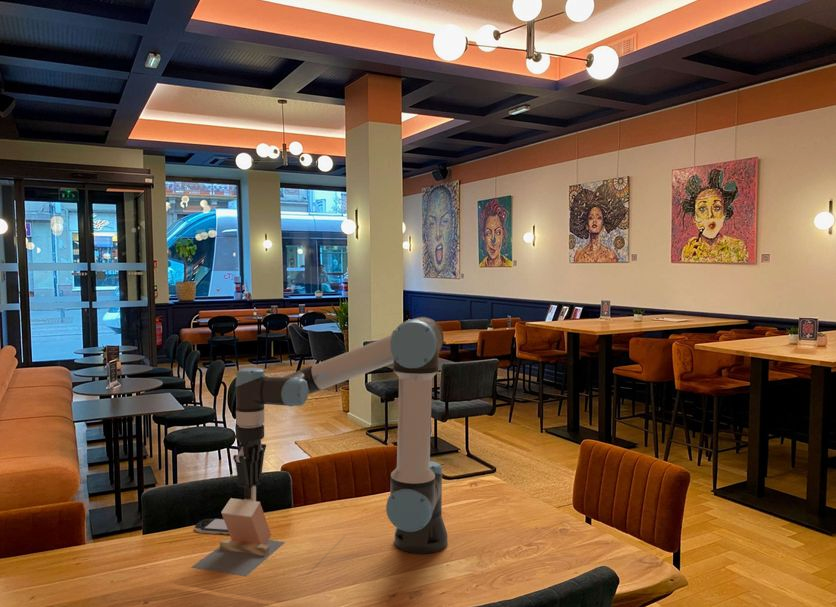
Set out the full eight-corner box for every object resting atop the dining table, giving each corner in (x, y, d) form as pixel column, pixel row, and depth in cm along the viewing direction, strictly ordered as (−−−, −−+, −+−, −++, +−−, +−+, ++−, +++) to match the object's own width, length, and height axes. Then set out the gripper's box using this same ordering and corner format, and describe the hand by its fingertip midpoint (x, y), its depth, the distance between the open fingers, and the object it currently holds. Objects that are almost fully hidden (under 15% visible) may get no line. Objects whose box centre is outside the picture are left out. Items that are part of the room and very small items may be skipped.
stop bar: (269, 552, 162) (269, 545, 162) (265, 555, 160) (265, 548, 160) (224, 545, 166) (224, 538, 166) (220, 549, 164) (219, 541, 164)
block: (271, 534, 168) (259, 501, 161) (262, 549, 163) (250, 516, 157) (242, 530, 170) (230, 498, 164) (234, 545, 166) (221, 512, 160)
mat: (285, 545, 168) (285, 542, 168) (246, 579, 149) (246, 576, 149) (235, 537, 173) (235, 535, 173) (191, 570, 153) (191, 567, 153)
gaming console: (189, 536, 175) (189, 527, 174) (204, 523, 183) (204, 515, 183) (252, 540, 172) (252, 531, 172) (265, 527, 181) (265, 519, 181)
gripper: (251, 418, 172) (251, 499, 173) (224, 429, 159) (224, 516, 160) (274, 420, 169) (274, 502, 171) (249, 431, 157) (249, 519, 158)
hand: (250, 508), depth 165 cm, fingers closed
